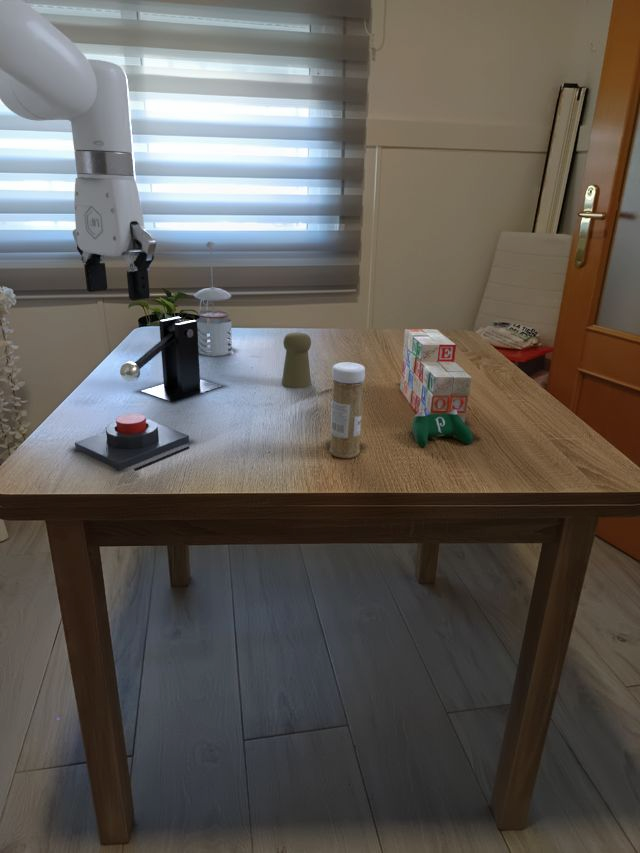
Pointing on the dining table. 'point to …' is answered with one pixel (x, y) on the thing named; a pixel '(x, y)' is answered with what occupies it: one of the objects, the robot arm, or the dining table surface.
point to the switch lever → (147, 356)
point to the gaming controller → (440, 427)
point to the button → (131, 423)
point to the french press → (213, 321)
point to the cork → (296, 361)
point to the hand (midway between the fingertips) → (118, 294)
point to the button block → (132, 445)
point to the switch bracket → (180, 364)
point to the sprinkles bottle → (346, 409)
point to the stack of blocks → (433, 374)
